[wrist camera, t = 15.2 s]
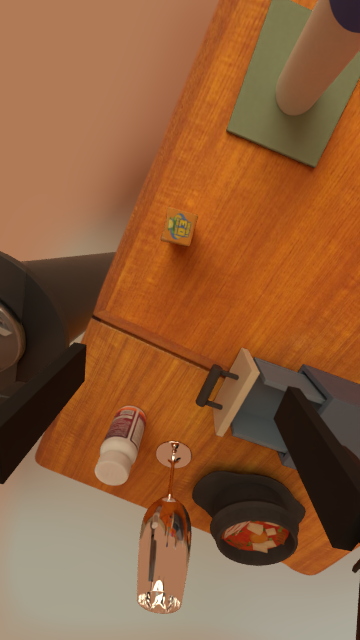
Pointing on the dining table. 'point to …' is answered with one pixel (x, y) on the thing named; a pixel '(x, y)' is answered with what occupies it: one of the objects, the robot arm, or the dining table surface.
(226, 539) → the casserole
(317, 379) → the cabinet
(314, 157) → the mat
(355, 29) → the medicine bottle
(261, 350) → the dining table surface
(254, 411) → the drawer
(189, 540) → the wineglass
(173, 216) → the supplement box
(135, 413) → the pill bottle
